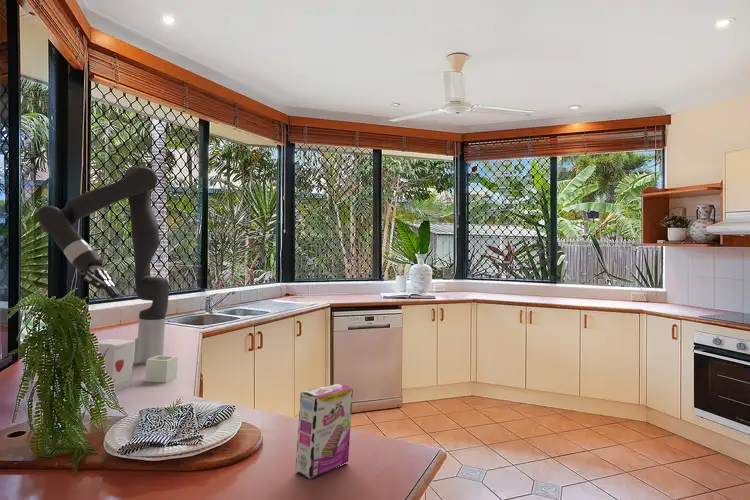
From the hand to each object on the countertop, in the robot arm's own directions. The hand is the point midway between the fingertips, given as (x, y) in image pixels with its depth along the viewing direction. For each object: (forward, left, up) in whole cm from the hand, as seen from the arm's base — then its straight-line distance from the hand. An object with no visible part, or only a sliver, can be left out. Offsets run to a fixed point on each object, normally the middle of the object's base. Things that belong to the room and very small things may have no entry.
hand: (116, 296), depth 155 cm
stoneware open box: (+13, +6, -28) cm, 32 cm away
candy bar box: (+78, -49, -28) cm, 96 cm away
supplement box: (+4, -7, -28) cm, 29 cm away
